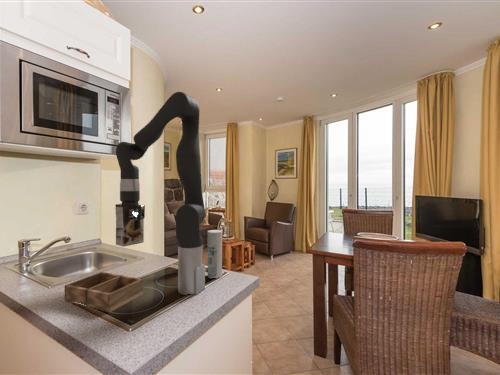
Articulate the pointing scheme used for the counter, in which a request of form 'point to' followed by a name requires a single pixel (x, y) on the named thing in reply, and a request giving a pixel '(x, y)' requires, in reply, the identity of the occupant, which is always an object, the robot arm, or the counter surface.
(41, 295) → the counter surface
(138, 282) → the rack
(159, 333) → the counter surface
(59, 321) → the counter surface
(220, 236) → the spray can
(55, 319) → the counter surface
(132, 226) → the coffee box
